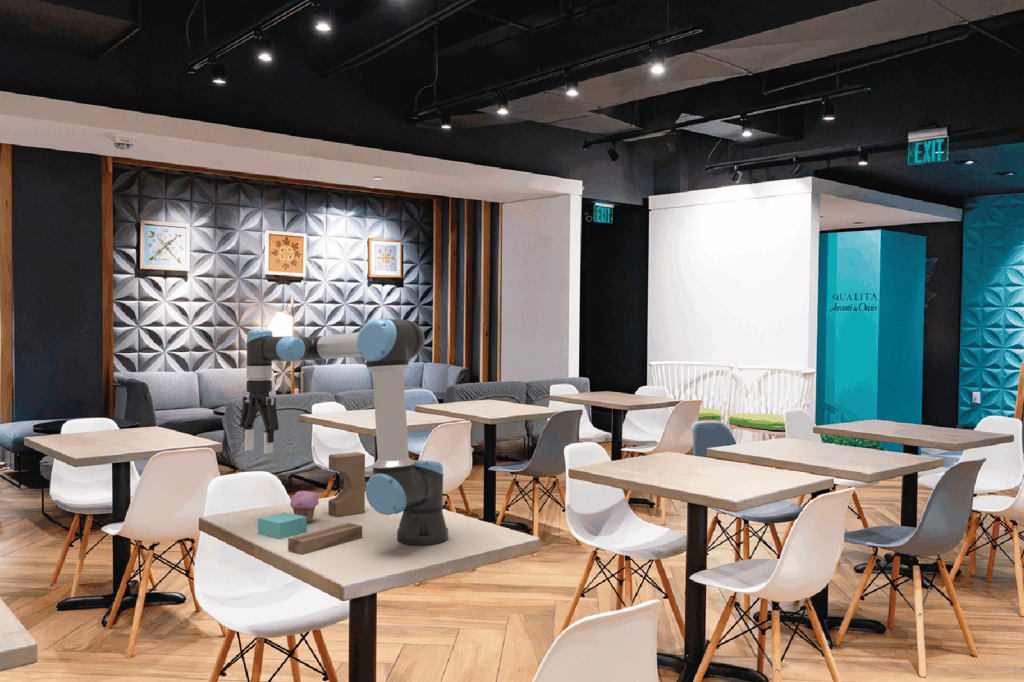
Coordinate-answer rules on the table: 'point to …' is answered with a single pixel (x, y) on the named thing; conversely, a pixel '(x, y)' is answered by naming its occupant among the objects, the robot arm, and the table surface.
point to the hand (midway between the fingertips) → (258, 451)
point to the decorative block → (348, 484)
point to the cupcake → (304, 504)
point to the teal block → (282, 525)
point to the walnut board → (324, 538)
